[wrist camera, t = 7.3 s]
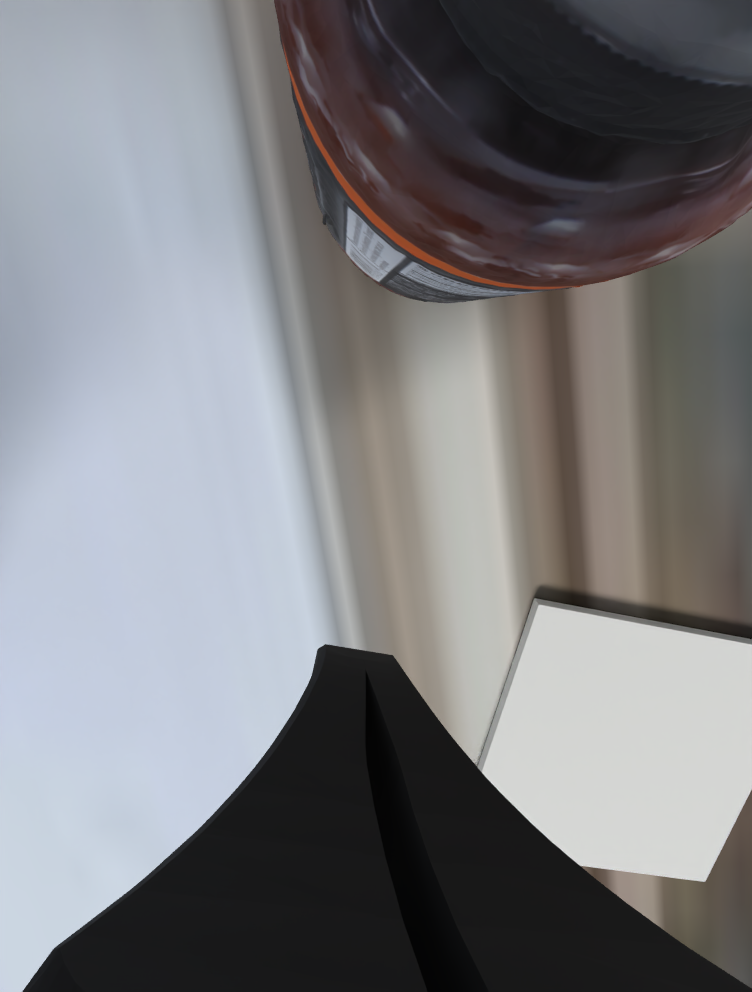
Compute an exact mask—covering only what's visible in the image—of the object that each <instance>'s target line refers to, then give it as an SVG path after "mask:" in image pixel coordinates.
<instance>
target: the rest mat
mask: <svg viewBox="0 0 752 992" xmlns="http://www.w3.org/2000/svg"><path fill="white" fill-rule="evenodd" d="M477 767H478V769H479V770H480V771H481V772H482V773H483V774H484V775H485V777H486V778H487V779H488V780H489V781H490V782H491V783H492V784H493V785H494V786H495V787H496V788H497V789H498V791H499V792H500V793H501V794H502V795H503V796H504V797H505V798H506V799H507V800H508V801H509V802H510V803H511V804H512V805H513V806H515V807H516V808H517V809H518V810H519V811H520V812H521V813H522V814H523V815H524V816H525V817H526V818H527V819H528V820H529V821H530V822H531V823H532V824H533V825H534V826H535V827H536V828H537V829H538V830H539V831H540V832H541V833H543V834H544V835H545V836H546V837H547V838H548V839H549V840H550V841H551V842H552V843H554V844H555V845H556V846H557V847H558V848H560V849H561V850H562V851H563V852H564V853H565V854H567V855H568V856H569V857H570V858H571V859H572V860H574V861H575V862H576V863H577V864H578V865H580V866H587V867H595V868H603V869H610V870H618V871H626V872H633V873H641V874H649V875H656V876H664V877H672V878H679V879H687V880H695V881H702V882H705V881H706V879H707V877H708V875H709V873H710V871H711V869H712V867H713V865H714V863H715V861H716V859H717V857H718V855H719V853H720V851H721V849H722V847H723V845H724V843H725V841H726V839H727V837H728V835H729V833H730V831H731V829H732V827H733V825H734V823H735V821H736V819H737V817H738V815H739V813H740V811H741V809H742V807H743V805H744V803H745V801H746V799H747V797H748V795H749V793H750V791H751V789H752V639H748V638H743V637H737V636H732V635H727V634H721V633H716V632H711V631H706V630H700V629H695V628H690V627H684V626H679V625H674V624H669V623H663V622H658V621H653V620H647V619H642V618H637V617H632V616H626V615H621V614H616V613H611V612H605V611H600V610H595V609H589V608H584V607H579V606H574V605H568V604H563V603H558V602H552V601H547V600H542V599H537V598H534V600H533V603H532V606H531V609H530V612H529V615H528V618H527V621H526V624H525V627H524V630H523V633H522V636H521V639H520V642H519V645H518V648H517V651H516V654H515V657H514V660H513V663H512V666H511V669H510V672H509V675H508V678H507V680H506V683H505V686H504V689H503V692H502V695H501V698H500V701H499V704H498V707H497V710H496V713H495V716H494V719H493V722H492V725H491V728H490V731H489V734H488V737H487V740H486V743H485V746H484V749H483V752H482V755H481V758H480V761H479V764H478V766H477Z"/></svg>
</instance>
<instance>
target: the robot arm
mask: <svg viewBox="0 0 752 992" xmlns="http://www.w3.org/2000/svg"><path fill="white" fill-rule="evenodd" d="M23 992H752V989H751V988H750V987H748V986H747V985H745V984H744V983H742V982H741V981H739V980H737V979H736V978H734V977H733V976H731V975H730V974H728V973H727V972H725V971H724V970H722V969H720V968H719V967H717V966H716V965H714V964H713V963H711V962H710V961H708V960H707V959H705V958H703V957H702V956H700V955H699V954H697V953H696V952H694V951H693V950H691V949H690V948H688V947H687V946H685V945H684V944H682V943H681V942H679V941H678V940H676V939H675V938H674V937H672V936H671V935H669V934H668V933H667V932H665V931H664V930H663V929H661V928H660V927H659V926H657V925H656V924H654V923H653V922H652V921H650V920H649V919H648V918H646V917H645V916H643V915H642V914H641V913H639V912H638V911H637V910H635V909H634V908H633V907H631V906H630V905H628V904H627V903H626V902H624V901H623V900H622V899H621V898H619V897H618V896H617V895H615V894H614V893H613V892H612V891H610V890H609V889H608V888H606V887H605V886H604V885H603V884H601V883H600V882H599V881H598V880H596V879H595V878H594V877H593V876H591V875H590V874H589V873H588V872H587V871H585V870H584V869H583V868H582V867H581V866H580V865H578V864H577V863H576V862H575V861H574V860H572V859H571V858H570V857H569V856H568V855H567V854H565V853H564V852H563V851H562V850H561V849H560V848H558V847H557V846H556V845H555V844H554V843H552V842H551V841H550V840H549V839H548V838H547V837H546V836H545V835H544V834H543V833H541V832H540V831H539V830H538V829H537V828H536V827H535V826H534V825H533V824H532V823H531V822H530V821H529V820H528V819H527V818H526V817H525V816H524V815H523V814H522V813H521V812H520V811H519V810H518V809H517V808H516V807H515V806H513V805H512V804H511V803H510V802H509V801H508V800H507V799H506V798H505V797H504V796H503V795H502V794H501V793H500V792H499V791H498V789H497V788H496V787H495V786H494V785H493V784H492V783H491V782H490V781H489V780H488V779H487V778H486V777H485V775H484V774H483V773H482V772H481V771H480V770H479V769H478V767H477V766H476V765H475V764H474V763H473V762H472V760H471V759H470V758H469V757H468V756H467V755H466V753H465V752H464V751H463V750H462V749H461V748H460V746H459V745H458V744H457V743H456V741H455V740H454V739H453V738H452V736H451V735H450V734H449V733H448V731H447V730H446V729H445V728H444V726H443V725H442V724H441V722H440V721H439V720H438V718H437V717H436V716H435V714H434V713H433V712H432V710H431V709H430V708H429V706H428V705H427V703H426V702H425V701H424V699H423V698H422V697H421V695H420V694H419V692H418V691H417V689H416V688H415V687H414V685H413V684H412V682H411V681H410V679H409V678H408V676H407V675H406V674H405V672H404V671H403V669H402V668H401V666H400V665H399V663H398V662H397V661H396V659H395V658H394V656H393V655H388V654H381V653H375V652H369V651H363V650H357V649H351V648H345V647H339V646H333V645H326V644H325V645H324V646H322V647H320V648H319V649H318V650H317V655H316V659H315V664H314V668H313V673H312V676H311V679H310V681H309V683H308V686H307V688H306V689H305V691H304V693H303V695H302V697H301V699H300V701H299V703H298V704H297V706H296V708H295V710H294V712H293V713H292V715H291V717H290V718H289V720H288V721H287V723H286V724H285V726H284V727H283V729H282V730H281V732H280V733H279V735H278V736H277V738H276V739H275V741H274V742H273V744H272V745H271V747H270V748H269V749H268V751H267V752H266V753H265V755H264V756H263V757H262V759H261V760H260V761H259V762H258V764H257V765H256V766H255V768H254V769H253V770H252V771H251V772H250V774H249V775H248V776H247V777H246V778H245V780H244V781H243V782H242V783H241V784H240V786H239V787H238V788H237V789H236V790H235V791H234V792H233V793H232V794H231V796H230V797H229V798H228V799H227V800H226V801H225V802H224V803H223V804H222V805H221V806H220V808H219V809H218V810H217V811H216V812H215V813H214V814H213V815H212V816H211V817H210V818H209V819H208V820H207V821H206V822H205V823H204V824H203V825H202V826H201V827H200V828H199V829H198V830H197V831H196V832H195V833H194V834H193V835H192V836H191V837H190V838H189V839H187V840H186V841H185V842H184V843H183V844H182V845H181V846H180V847H179V848H177V849H176V850H175V851H174V852H173V853H172V854H171V855H170V856H169V857H168V858H166V859H165V860H164V861H163V862H162V863H161V864H160V865H159V866H158V867H156V868H155V869H154V870H153V871H152V872H151V873H150V874H149V875H148V876H146V877H145V878H144V879H143V880H142V881H140V882H139V883H138V884H137V885H136V886H134V887H133V888H132V889H131V890H130V891H128V892H127V893H126V894H124V895H123V896H122V897H121V898H119V899H118V900H117V901H115V902H114V903H113V904H111V905H110V906H109V907H107V908H106V909H105V910H104V911H102V912H101V913H100V914H98V915H97V916H96V917H94V918H93V919H92V920H91V921H89V922H88V923H87V924H85V925H84V926H83V927H81V928H80V929H79V930H78V931H76V932H75V933H74V934H72V935H71V936H70V937H68V938H67V939H66V940H64V941H63V942H62V943H60V944H59V945H58V946H57V947H55V948H54V949H53V951H52V952H51V953H50V955H49V956H48V957H47V959H46V960H45V961H44V963H43V964H42V965H41V967H40V968H39V969H38V971H37V972H36V974H35V975H34V976H33V978H32V979H31V980H30V982H29V983H28V985H27V986H26V987H25V989H24V990H23Z"/></svg>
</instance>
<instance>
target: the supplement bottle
mask: <svg viewBox="0 0 752 992" xmlns="http://www.w3.org/2000/svg"><path fill="white" fill-rule="evenodd" d="M274 2H275V7H276V13H277V18H278V23H279V30H280V39H281V44H282V47H283V51H284V54H285V58H286V62H287V66H288V70H289V73H290V79H291V86H292V95H293V101H294V104H295V107H296V110H297V115H298V119H299V124H300V127H301V131H302V137H303V142H304V145H305V149H306V153H307V157H308V162H309V168H310V171H311V175H312V179H313V185H314V189H315V193H316V198H317V201H318V205H319V208H320V210H321V212H322V214H323V224H324V225H326V224H327V227H328V229H329V231H330V233H331V234H332V236H333V237H334V238H335V240H336V241H337V243H338V244H339V246H340V247H341V249H342V250H343V251H344V252H345V253H346V255H347V256H348V257H349V258H350V260H351V261H352V262H353V264H354V265H355V266H357V267H358V268H359V269H360V270H361V271H362V272H363V273H364V274H365V275H366V276H368V277H370V278H371V279H372V280H374V281H375V282H376V283H377V284H379V285H380V286H383V287H384V288H386V289H388V290H389V291H391V292H394V293H396V294H399V295H401V296H404V297H407V298H411V299H415V300H421V301H425V302H427V301H429V302H438V303H455V302H466V301H473V300H479V299H488V298H494V297H504V296H514V295H519V294H524V293H533V292H541V291H549V290H559V289H568V288H572V287H580V286H583V285H588V284H594V283H599V282H605V281H608V280H612V279H615V278H619V277H622V276H626V275H630V274H632V273H635V272H638V271H641V270H644V269H647V268H650V267H653V266H655V265H658V264H661V263H663V262H666V261H668V260H671V259H673V258H676V257H677V256H679V255H681V254H683V253H684V252H686V251H688V250H689V249H691V248H693V247H695V246H697V245H698V244H700V243H702V242H704V241H706V240H707V239H709V238H711V237H712V236H714V235H716V234H717V233H719V232H721V231H722V230H724V229H725V228H727V227H728V226H730V225H731V224H733V223H734V222H735V221H736V220H737V219H738V218H740V217H741V216H743V215H744V214H746V213H747V212H748V211H749V210H750V209H751V208H752V0H274Z"/></svg>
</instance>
